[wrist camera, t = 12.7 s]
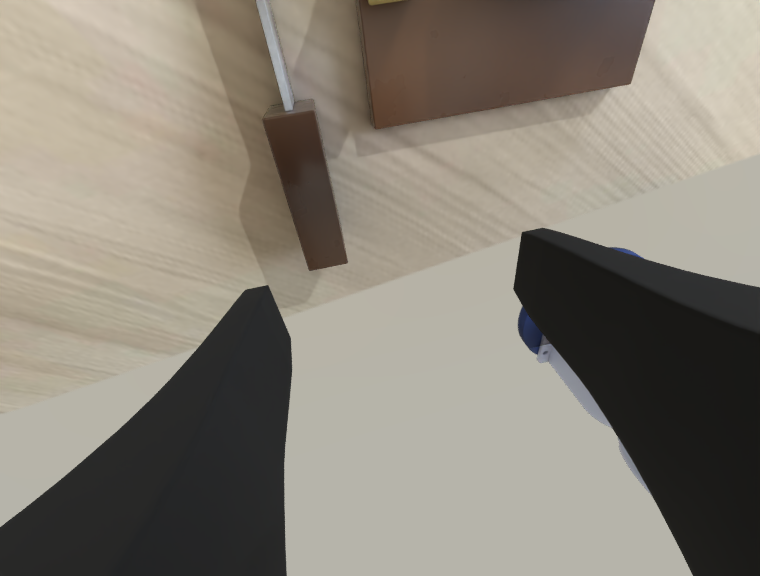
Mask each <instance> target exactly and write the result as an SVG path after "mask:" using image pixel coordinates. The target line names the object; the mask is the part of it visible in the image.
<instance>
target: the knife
mask: <svg viewBox="0 0 760 576" xmlns="http://www.w3.org/2000/svg"><path fill="white" fill-rule="evenodd" d="M255 1H256V4H257V8H258V12H259V16H260V19H261V23H262V27H263V30H264V34H265V38H266V42H267V45H268V49H269V53H270V57H271V60H272V64H273V68H274V71H275V75H276V79H277V83H278V86H279V90H280V94H281V97H282V101H283V104H279V105H273V106H270V108H269V109H268V111H267V113H266V114H265V116H264V117H263V119H262V121H263V125H264V128H265V131H266V134H267V137H268V141H269V144H270V147H271V150H272V153H273V157H274V160H275V163H276V166H277V169H278V173H279V176H280V179H281V182H282V185H283V189H284V192H285V195H286V198H287V202H288V205H289V208H290V211H291V214H292V218H293V221H294V224H295V227H296V230H297V234H298V237H299V240H300V243H301V246H302V250H303V253H304V256H305V259H306V262H307V266H308V269H309V271H312V270H317V269H322V268H327V267H332V266H337V265H341V264H346V263H348V260H347V255H346V250H345V244H344V239H343V234H342V229H341V224H340V220H339V215H338V210H337V206H336V201H335V197H334V192H333V187H332V183H331V178H330V174H329V169H328V164H327V160H326V155H325V151H324V146H323V141H322V137H321V132H320V128H319V123H318V119H317V114H316V109H315V105H314V100H313V99H309V100H303V101H297V102H294V97H293V93H292V88H291V84H290V80H289V76H288V72H287V68H286V64H285V60H284V56H283V52H282V48H281V44H280V40H279V36H278V32H277V28H276V24H275V20H274V16H273V12H272V8H271V4H270V0H255Z"/></svg>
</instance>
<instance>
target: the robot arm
mask: <svg viewBox="0 0 760 576" xmlns="http://www.w3.org/2000/svg"><path fill="white" fill-rule="evenodd" d="M513 289H514V291H515V293H516V295H517V296H518V298H519V300H520V302H521V304H522V305H523V307H524V309H525V310H526V312H527V313H528V315H529V317H530V318H531V319H532V321H533V322H534V323H535V324H536V326H537V327H538V328H539V329H540V331H541V332H542V333H543V336H542V339H541V343H540V347H539V351H538V356H537V360H538V362H539V363H544V362H549V363H550V364H551V366H552V367H553V368H554V369H555V371H556V372H557V373H558V375H559V376H560V377H561V379H562V380H563V381H564V383H565V384H566V385H567V386H568V388H569V389H570V390H571V392H572V393H573V394H574V396H575V397H576V398H577V400H578V401H579V402H580V403H581V405H582V406H583V407H584V409H585V410H586V411H587V412H588V413H589V414H590V415H591V416H592V417H594V418H595V419H597V420H598V421H599V422H601V423H603V424H605V425H606V426H609V427H611V428H613V430H614V431H615V433H616V435H617V436H618V440H619V449H620V452H621V454H622V456H623V458H624V460H625V462H626V463H627V465H628V467H629V468H630V470H631V471H632V472H633V474H634V475H635V476H636V478H637V479H638V480H639V481H640V483H641V484H642V485H643V486H644V488H645V489H646V490H647V491H648V492H649V493H650V494H651V495H652V496H653V498H654V500H655V502H656V503H657V505H658V507H659V509H660V511H661V513H662V515H663V517H664V519H665V521H666V523H667V525H668V527H669V529H670V530H671V532H672V534H673V536H674V538H675V540H676V542H677V544H678V546H679V548H680V550H681V552H682V554H683V556H684V558H685V560H686V562H687V564H688V566H689V568H690V570H691V572H692V574H693V576H760V288H759V287H755V286H750V285H745V284H740V283H736V282H731V281H727V280H722V279H718V278H713V277H709V276H704V275H701V274H697V273H693V272H689V271H684V270H681V269H677V268H674V267H670V266H667V265H663V264H660V263H656V262H653V261H649V260H646V259H643V258H639V257H636V256H633V255H630V254H626V253H623V252H620V251H617V250H614V249H611V248H608V247H605V246H602V245H598V244H595V243H593V242H589V241H586V240H583V239H580V238H577V237H574V236H570V235H568V234H564V233H561V232H557V231H553V230H550V229H545V228H540V229H535V230H530V231H525V232H522V235H521V242H520V249H519V256H518V262H517V269H516V275H515V282H514V288H513ZM291 355H292V354H291V338H290V336H289V333H288V331H287V328H286V326H285V324H284V321H283V319H282V317H281V314H280V312H279V310H278V307H277V305H276V302H275V300H274V298H273V295H272V293H271V291H270V288H269V286H268V285H266V286H262V287H257V288H252V289H247V290H245V291H244V292H243V293H242V294H241V296H240V297H239V298H238V299H237V300H236V302H235V303H234V304H233V305H232V307H231V308H230V309H229V311H228V312H227V313H226V314H225V316H224V317H223V318H222V319H221V321H220V322H219V323H218V324H217V326H216V327H215V328H214V329H213V330H212V332H211V333H210V334H209V335H208V337H207V338H206V339H205V340H204V342H203V343H202V344H201V345H200V346H199V347H198V349H197V350H196V351H195V352H194V353H193V354H192V356H191V357H190V358H189V359H188V360H187V361H186V362H185V363H184V364H183V366H182V367H181V368H180V369H179V370H178V371H177V372H176V373H175V375H174V376H173V377H172V378H171V379H170V380H169V381H168V382H167V383H166V384H165V385H164V386H163V387H162V388H161V390H160V391H158V393H157V394H156V395H155V396H154V397H153V398H152V399H151V400H150V401H149V402H147V403H146V404H145V405H144V406H143V407H142V408H141V409H140V410H139V411H138V412H137V413H136V414H135V415H134V416H133V417H132V418H131V419H130V420H129V421H128V422H127V423H126V424H125V425H123V426H122V427H121V428H120V429H119V430H118V431H117V432H116V433H115V434H113V435H112V436H111V437H110V438H109V439H108V440H106V441H105V442H104V443H103V444H102V445H101V446H99V447H98V448H97V449H96V450H95V451H94V452H93V453H92V454H90V455H89V456H88V457H87V458H86V459H84V460H83V461H82V462H81V463H80V464H79V465H77V467H75V468H74V469H73V470H72V471H71V472H69V473H68V474H67V475H66V476H65V477H64V478H62V479H61V480H60V481H59V482H57V483H56V484H55V485H54V486H52V487H51V488H50V489H49V490H47V491H46V492H45V493H44V494H43V495H41V496H40V497H39V498H37V499H36V500H35V501H34V502H32V503H31V504H30V505H29V506H27V507H26V508H25V509H23V510H22V511H21V512H19V513H18V514H17V515H16V516H15V517H13V518H12V519H10V520H9V521H8V522H6V523H5V524H4V525H3V526H1V527H0V576H287V575H286V552H285V515H284V514H285V512H284V458H285V442H286V431H287V421H288V410H289V400H290V389H291V377H292V356H291Z"/></svg>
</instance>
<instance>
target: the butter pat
mask: <svg viewBox="0 0 760 576" xmlns="http://www.w3.org/2000/svg"><path fill="white" fill-rule="evenodd" d="M397 1H404V0H368V3H369V5H377V4H384V3H391V2H397Z"/></svg>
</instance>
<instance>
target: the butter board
mask: <svg viewBox="0 0 760 576" xmlns="http://www.w3.org/2000/svg"><path fill="white" fill-rule="evenodd" d="M654 3H655V0H404V1H397V2H391V3H384V4H377V5H369V3H368V0H356V6H357V14H358V21H359V29H360V37H361V45H362V53H363V60H364V68H365V76H366V84H367V91H368V99H369V107H370V115H371V123H372V126H373V127H374V128H375V129H381V128H387V127H392V126H398V125H404V124H409V123H415V122H421V121H426V120H432V119H437V118H443V117H449V116H454V115H460V114H466V113H471V112H477V111H482V110H488V109H494V108H499V107H505V106H511V105H516V104H522V103H527V102H533V101H539V100H544V99H550V98H556V97H561V96H567V95H572V94H578V93H584V92H589V91H595V90H601V89H606V88H612V87H617V86H623V85H629V84H631V81H632V78H633V74H634V71H635V68H636V64H637V61H638V57H639V54H640V51H641V47H642V44H643V40H644V37H645V33H646V30H647V27H648V23H649V20H650V16H651V13H652V9H653V6H654Z"/></svg>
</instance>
